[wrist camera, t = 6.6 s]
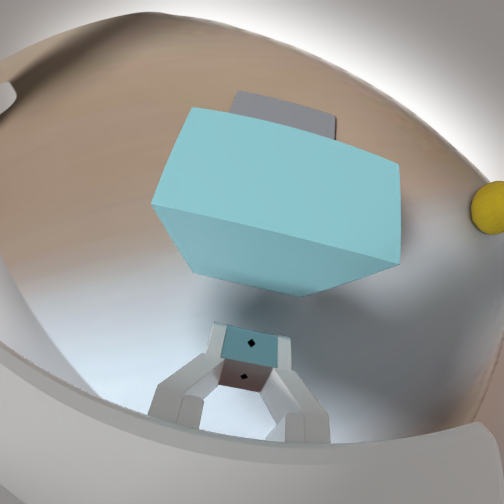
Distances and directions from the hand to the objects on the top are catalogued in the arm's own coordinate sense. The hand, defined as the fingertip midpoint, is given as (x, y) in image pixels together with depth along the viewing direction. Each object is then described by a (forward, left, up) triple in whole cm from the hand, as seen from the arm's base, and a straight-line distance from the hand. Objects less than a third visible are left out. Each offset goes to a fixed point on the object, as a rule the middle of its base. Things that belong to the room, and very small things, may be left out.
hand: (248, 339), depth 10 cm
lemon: (+29, -1, -9) cm, 30 cm away
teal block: (+3, +4, -9) cm, 10 cm away
